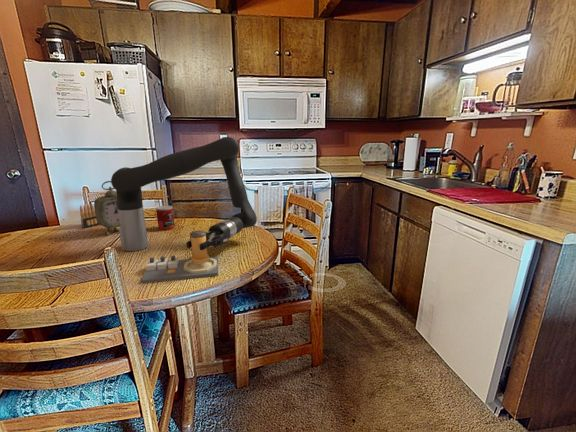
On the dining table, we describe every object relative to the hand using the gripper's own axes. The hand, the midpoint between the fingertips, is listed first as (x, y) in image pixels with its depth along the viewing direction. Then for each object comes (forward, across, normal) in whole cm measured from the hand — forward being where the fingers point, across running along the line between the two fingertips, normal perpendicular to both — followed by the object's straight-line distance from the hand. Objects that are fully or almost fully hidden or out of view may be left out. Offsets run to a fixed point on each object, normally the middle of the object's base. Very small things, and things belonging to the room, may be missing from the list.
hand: (194, 246), depth 101 cm
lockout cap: (-3, 0, +6) cm, 7 cm away
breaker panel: (+1, -5, +9) cm, 11 cm away
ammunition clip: (-23, -85, +9) cm, 88 cm away
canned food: (-34, -46, +10) cm, 58 cm away
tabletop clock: (-20, -65, +9) cm, 69 cm away
